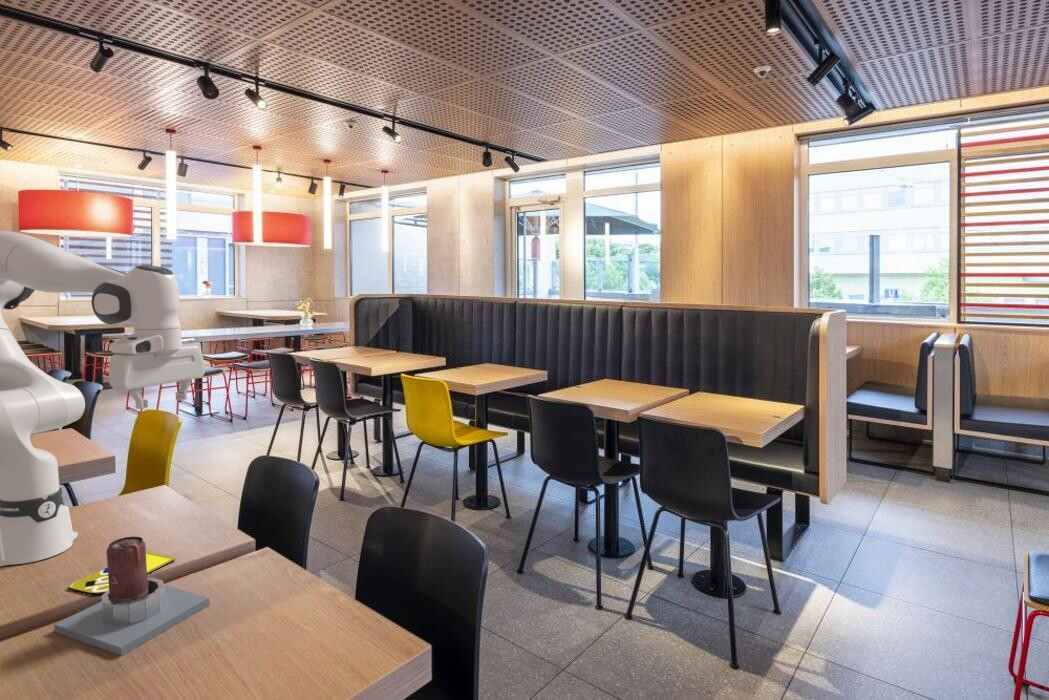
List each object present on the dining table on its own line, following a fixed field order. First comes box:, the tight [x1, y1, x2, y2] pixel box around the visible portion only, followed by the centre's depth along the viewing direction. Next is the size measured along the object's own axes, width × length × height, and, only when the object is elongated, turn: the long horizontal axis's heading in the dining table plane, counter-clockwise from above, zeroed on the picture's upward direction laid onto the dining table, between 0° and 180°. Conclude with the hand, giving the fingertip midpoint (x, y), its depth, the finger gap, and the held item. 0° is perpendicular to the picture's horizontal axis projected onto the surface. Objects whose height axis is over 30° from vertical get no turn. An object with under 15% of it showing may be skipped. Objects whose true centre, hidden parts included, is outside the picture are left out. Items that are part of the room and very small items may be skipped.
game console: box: [68, 551, 176, 597], centre depth 135 cm, size 18×11×2 cm, turn 163°
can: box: [106, 536, 148, 602], centre depth 117 cm, size 6×6×14 cm
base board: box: [53, 584, 211, 657], centre depth 118 cm, size 18×18×2 cm
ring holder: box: [100, 577, 166, 626], centre depth 118 cm, size 10×10×4 cm
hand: (162, 404), depth 135 cm, fingers open, 8 cm apart
